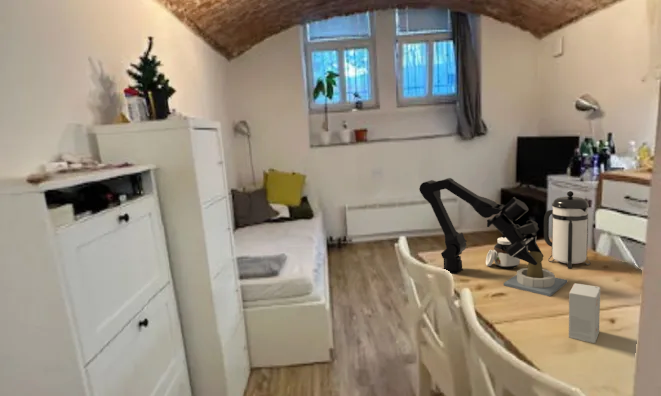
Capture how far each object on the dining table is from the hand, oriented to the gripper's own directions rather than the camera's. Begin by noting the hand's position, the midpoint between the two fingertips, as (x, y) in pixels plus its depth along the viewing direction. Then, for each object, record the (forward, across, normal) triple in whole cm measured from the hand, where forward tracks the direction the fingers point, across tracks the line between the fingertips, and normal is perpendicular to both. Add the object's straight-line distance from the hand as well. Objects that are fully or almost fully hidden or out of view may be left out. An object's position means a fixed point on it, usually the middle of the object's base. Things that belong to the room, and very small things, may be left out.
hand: (539, 260), depth 144 cm
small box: (+19, -31, -6) cm, 37 cm away
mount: (+5, 0, +7) cm, 9 cm away
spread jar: (-6, +14, +19) cm, 24 cm away
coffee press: (+9, +30, +4) cm, 31 cm away
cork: (+5, 0, +7) cm, 8 cm away
